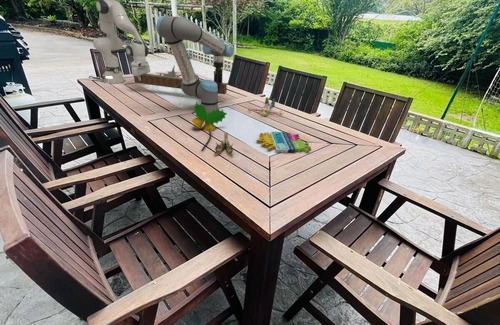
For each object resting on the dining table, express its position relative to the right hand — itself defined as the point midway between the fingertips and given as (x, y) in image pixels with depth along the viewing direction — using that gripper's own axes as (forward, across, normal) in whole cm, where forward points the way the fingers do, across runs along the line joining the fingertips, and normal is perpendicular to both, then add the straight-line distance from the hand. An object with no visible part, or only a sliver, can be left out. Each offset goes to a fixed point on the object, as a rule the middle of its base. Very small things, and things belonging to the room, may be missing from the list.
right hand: (218, 91), depth 211 cm
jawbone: (+9, +82, +34) cm, 89 cm away
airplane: (+9, -58, -77) cm, 97 cm away
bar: (+1, 0, -34) cm, 34 cm away
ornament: (+9, +56, +15) cm, 58 cm away
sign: (+8, +60, +62) cm, 86 cm away
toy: (+8, +5, +42) cm, 43 cm away
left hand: (-1, 0, -69) cm, 69 cm away
